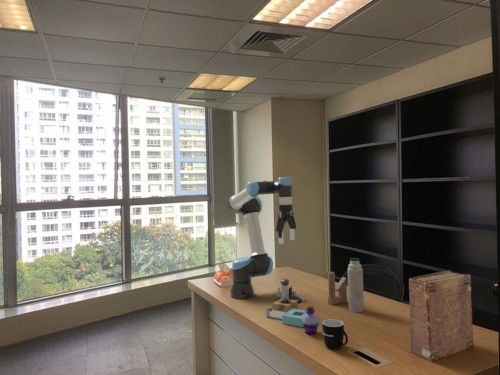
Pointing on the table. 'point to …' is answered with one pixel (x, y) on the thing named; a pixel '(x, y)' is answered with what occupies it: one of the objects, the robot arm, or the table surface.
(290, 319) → the socket block
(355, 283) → the thermos bottle
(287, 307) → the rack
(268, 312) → the pale gray faceted bar
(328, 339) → the mug
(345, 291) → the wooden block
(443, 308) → the book
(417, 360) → the table surface
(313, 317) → the potion bottle
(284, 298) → the metal flashlight
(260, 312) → the table surface
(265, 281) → the table surface
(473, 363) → the table surface
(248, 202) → the robot arm
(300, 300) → the bike brake
